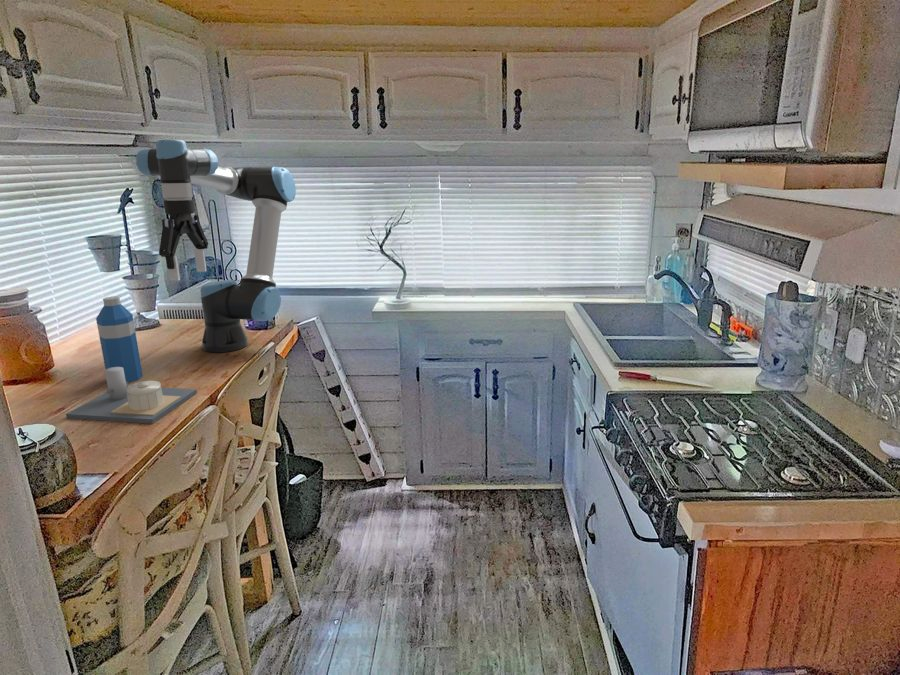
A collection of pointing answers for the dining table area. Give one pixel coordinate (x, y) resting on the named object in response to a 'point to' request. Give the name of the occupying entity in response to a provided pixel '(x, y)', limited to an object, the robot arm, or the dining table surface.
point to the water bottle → (119, 339)
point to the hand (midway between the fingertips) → (188, 275)
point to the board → (117, 406)
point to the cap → (144, 395)
